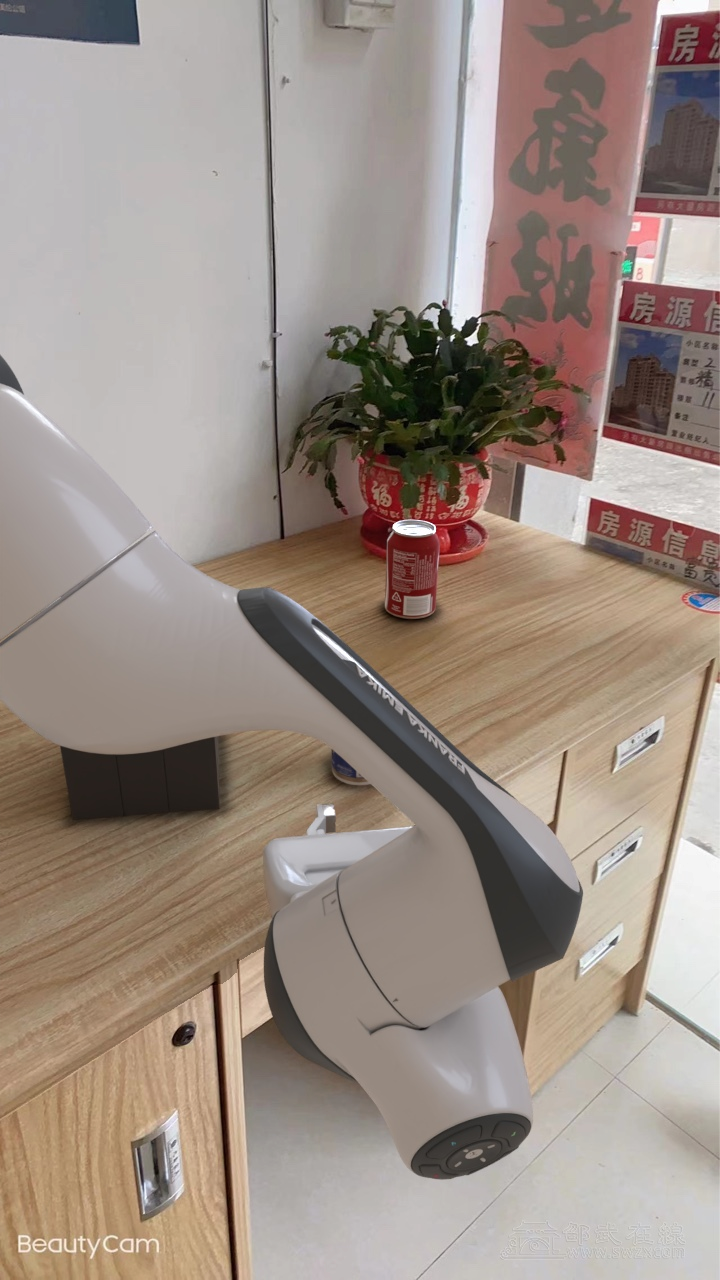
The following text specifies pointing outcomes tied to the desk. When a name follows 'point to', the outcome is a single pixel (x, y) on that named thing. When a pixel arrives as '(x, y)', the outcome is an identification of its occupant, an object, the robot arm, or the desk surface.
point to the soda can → (412, 569)
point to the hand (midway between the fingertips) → (380, 805)
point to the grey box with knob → (143, 780)
